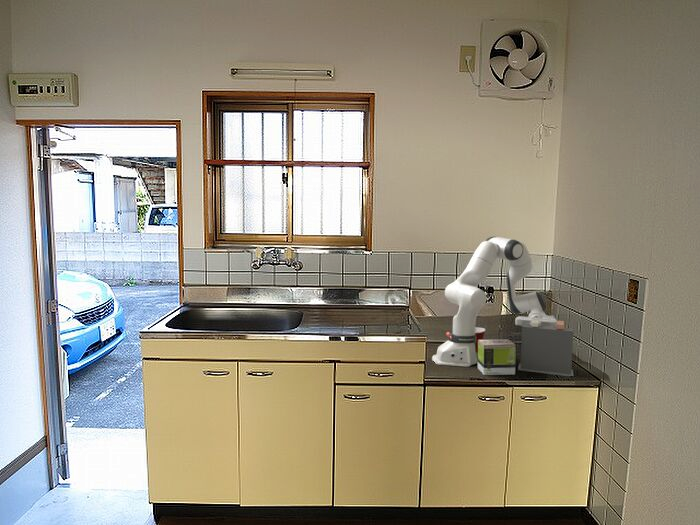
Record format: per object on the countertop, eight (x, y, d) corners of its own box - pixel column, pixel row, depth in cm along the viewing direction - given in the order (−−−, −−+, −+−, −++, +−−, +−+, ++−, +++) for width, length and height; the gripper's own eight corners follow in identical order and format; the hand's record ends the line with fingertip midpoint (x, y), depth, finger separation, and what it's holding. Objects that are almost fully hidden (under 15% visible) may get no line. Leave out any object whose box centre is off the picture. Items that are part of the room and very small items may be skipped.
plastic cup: (462, 347, 265) (463, 326, 263) (482, 348, 264) (483, 326, 262) (465, 353, 254) (466, 331, 253) (486, 353, 253) (487, 331, 252)
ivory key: (529, 337, 226) (530, 322, 225) (530, 332, 235) (531, 317, 234) (538, 338, 224) (539, 322, 223) (539, 333, 234) (540, 318, 233)
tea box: (507, 368, 230) (508, 338, 228) (515, 375, 220) (516, 344, 218) (476, 368, 230) (477, 338, 228) (483, 375, 220) (484, 344, 218)
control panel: (518, 369, 227) (519, 326, 225) (519, 365, 235) (520, 323, 232) (573, 376, 218) (575, 332, 216) (572, 371, 225) (575, 328, 223)
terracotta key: (554, 339, 221) (555, 324, 221) (555, 334, 231) (555, 319, 230) (564, 340, 220) (565, 325, 219) (564, 335, 229) (564, 320, 228)
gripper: (516, 312, 257) (514, 317, 244) (557, 316, 249) (557, 321, 236) (515, 323, 258) (513, 329, 245) (556, 327, 250) (556, 333, 237)
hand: (535, 325), depth 241 cm, fingers closed
